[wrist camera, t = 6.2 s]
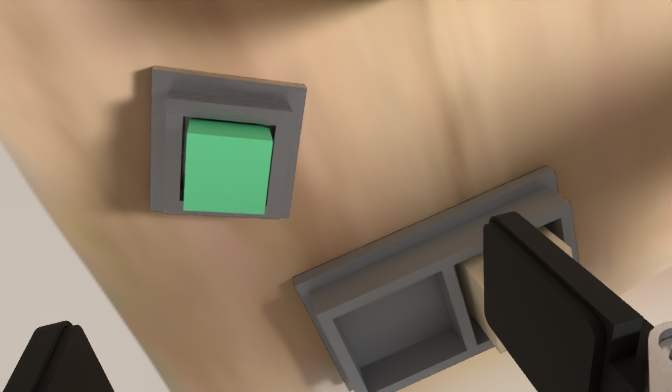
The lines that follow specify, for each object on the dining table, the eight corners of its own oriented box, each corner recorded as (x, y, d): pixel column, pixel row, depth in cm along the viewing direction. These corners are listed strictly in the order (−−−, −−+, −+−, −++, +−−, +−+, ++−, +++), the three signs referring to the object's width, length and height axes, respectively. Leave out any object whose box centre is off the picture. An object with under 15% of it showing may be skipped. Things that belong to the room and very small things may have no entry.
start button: (268, 126, 26) (272, 141, 23) (260, 194, 27) (264, 214, 25) (189, 118, 25) (186, 133, 22) (186, 189, 26) (183, 210, 24)
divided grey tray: (545, 165, 33) (579, 186, 30) (564, 282, 38) (595, 310, 35) (292, 277, 33) (300, 310, 29) (346, 381, 38) (357, 417, 35)
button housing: (304, 84, 27) (313, 96, 25) (286, 210, 30) (292, 234, 28) (154, 65, 25) (146, 77, 23) (151, 203, 28) (144, 227, 26)
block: (529, 214, 33) (571, 248, 29) (541, 278, 36) (581, 316, 32) (450, 249, 33) (482, 287, 29) (469, 311, 36) (500, 353, 32)
